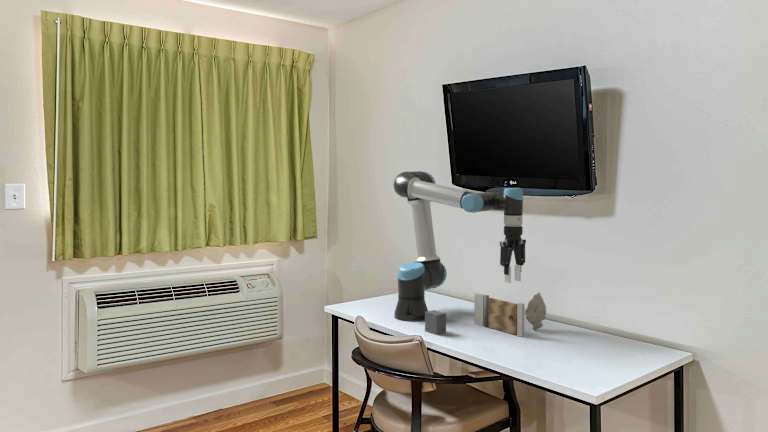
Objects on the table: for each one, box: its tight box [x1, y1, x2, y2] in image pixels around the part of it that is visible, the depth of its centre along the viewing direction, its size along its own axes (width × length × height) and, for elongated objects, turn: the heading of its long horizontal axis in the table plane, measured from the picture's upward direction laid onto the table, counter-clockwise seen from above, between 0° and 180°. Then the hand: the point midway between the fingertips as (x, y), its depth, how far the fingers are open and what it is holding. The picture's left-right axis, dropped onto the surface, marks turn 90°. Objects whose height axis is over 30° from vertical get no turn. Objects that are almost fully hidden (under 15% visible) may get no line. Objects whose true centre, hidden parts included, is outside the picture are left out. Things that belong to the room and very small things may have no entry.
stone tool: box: [524, 292, 547, 331], centre depth 239 cm, size 11×4×15 cm, turn 119°
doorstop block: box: [424, 309, 447, 336], centre depth 238 cm, size 7×5×8 cm
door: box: [487, 297, 517, 336], centre depth 237 cm, size 15×2×12 cm, turn 37°
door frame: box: [473, 292, 526, 338], centre depth 240 cm, size 26×2×13 cm, turn 37°
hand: (512, 281), depth 244 cm, fingers open, 5 cm apart
